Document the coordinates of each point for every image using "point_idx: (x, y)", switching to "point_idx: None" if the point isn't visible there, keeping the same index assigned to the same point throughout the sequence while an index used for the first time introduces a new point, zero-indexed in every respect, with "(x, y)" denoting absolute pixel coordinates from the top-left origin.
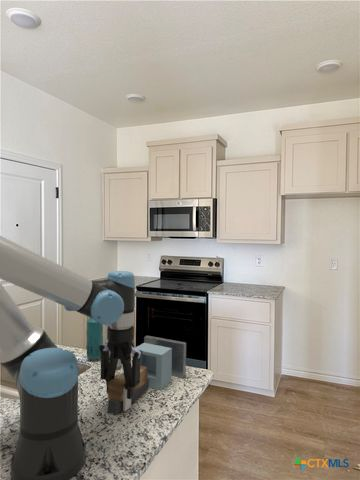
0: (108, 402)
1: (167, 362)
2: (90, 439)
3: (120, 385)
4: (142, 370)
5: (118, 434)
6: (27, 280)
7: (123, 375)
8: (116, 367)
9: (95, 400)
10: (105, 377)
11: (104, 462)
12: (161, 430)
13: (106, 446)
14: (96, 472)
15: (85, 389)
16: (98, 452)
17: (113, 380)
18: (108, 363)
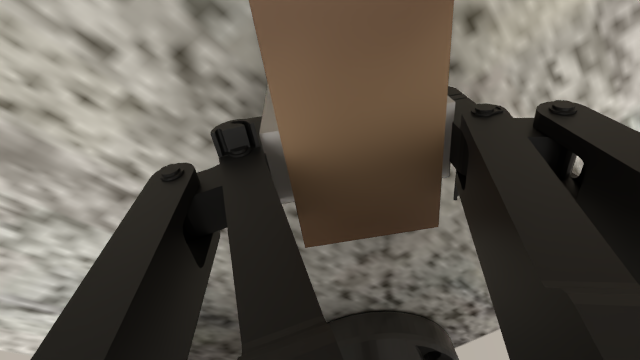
0: None
1: None
2: (389, 281)
3: (430, 226)
4: None
5: (460, 221)
6: None
7: (318, 76)
8: (286, 217)
9: (158, 115)
10: (221, 222)
11: (490, 304)
12: (628, 108)
13: (458, 273)
14: (490, 327)
15: None
16: (452, 295)
17: (319, 208)
18: (155, 279)
